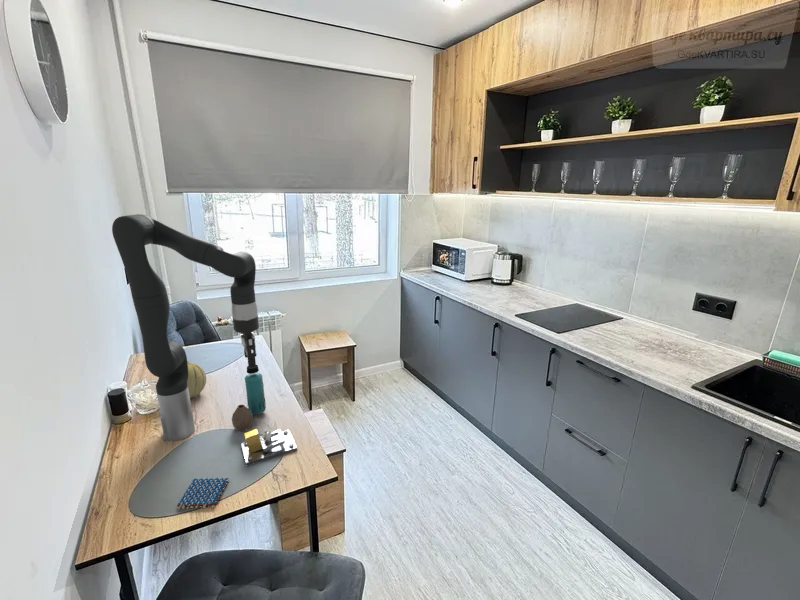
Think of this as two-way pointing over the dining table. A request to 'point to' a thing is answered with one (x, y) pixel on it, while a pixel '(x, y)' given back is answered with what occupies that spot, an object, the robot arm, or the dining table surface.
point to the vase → (242, 418)
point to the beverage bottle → (255, 391)
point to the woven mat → (203, 493)
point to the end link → (262, 441)
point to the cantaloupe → (195, 379)
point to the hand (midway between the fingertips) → (250, 361)
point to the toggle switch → (271, 453)
